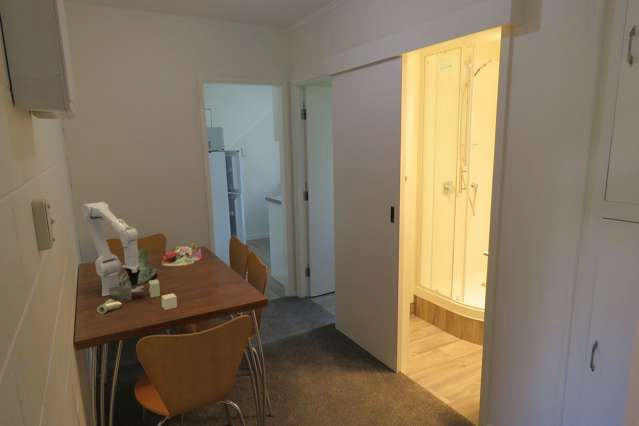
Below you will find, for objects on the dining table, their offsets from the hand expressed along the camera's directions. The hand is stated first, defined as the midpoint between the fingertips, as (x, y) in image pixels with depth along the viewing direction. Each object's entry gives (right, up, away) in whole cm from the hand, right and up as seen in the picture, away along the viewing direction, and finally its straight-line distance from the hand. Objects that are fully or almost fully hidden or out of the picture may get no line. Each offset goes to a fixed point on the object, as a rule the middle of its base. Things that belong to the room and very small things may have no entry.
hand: (133, 283), depth 179 cm
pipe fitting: (-4, -9, -12) cm, 16 cm away
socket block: (+8, -6, +5) cm, 11 cm away
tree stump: (-12, -3, +28) cm, 31 cm away
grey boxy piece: (-5, -7, -2) cm, 9 cm away
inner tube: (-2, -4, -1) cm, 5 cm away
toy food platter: (0, +2, +64) cm, 64 cm away
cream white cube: (+20, -9, -9) cm, 24 cm away
